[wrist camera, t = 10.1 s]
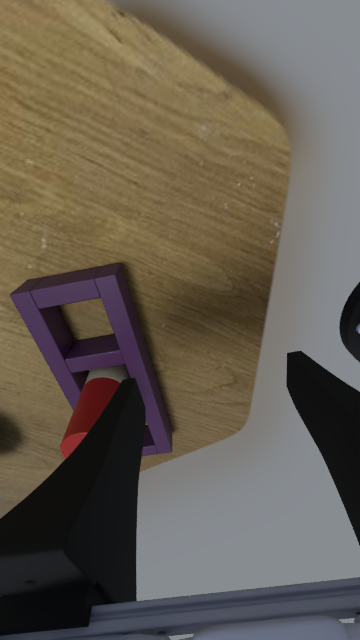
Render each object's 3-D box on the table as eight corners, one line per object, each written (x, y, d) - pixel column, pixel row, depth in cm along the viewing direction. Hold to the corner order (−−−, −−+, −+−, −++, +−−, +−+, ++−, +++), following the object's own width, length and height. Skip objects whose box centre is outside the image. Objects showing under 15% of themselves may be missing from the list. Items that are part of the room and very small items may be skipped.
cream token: (140, 364, 24) (136, 388, 22) (120, 389, 26) (115, 415, 23) (103, 346, 23) (95, 369, 20) (85, 373, 24) (75, 398, 22)
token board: (121, 262, 19) (115, 274, 17) (172, 430, 29) (172, 452, 27) (26, 280, 20) (8, 294, 18) (107, 440, 29) (101, 462, 27)
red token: (135, 389, 22) (127, 445, 17) (114, 415, 23) (101, 473, 19) (94, 369, 20) (74, 425, 16) (74, 398, 22) (51, 456, 18)
